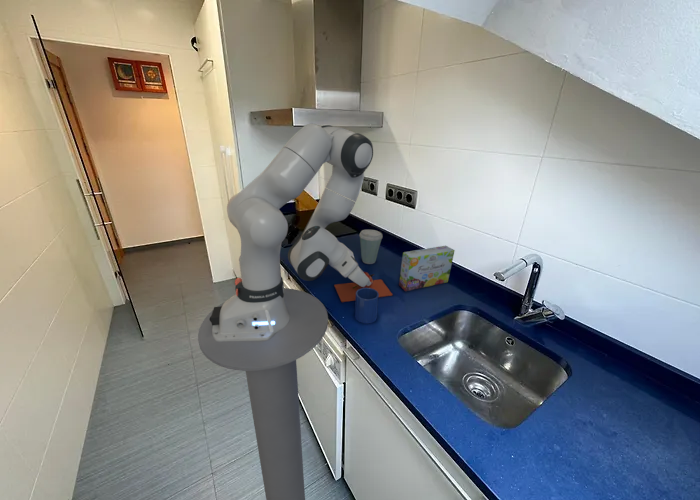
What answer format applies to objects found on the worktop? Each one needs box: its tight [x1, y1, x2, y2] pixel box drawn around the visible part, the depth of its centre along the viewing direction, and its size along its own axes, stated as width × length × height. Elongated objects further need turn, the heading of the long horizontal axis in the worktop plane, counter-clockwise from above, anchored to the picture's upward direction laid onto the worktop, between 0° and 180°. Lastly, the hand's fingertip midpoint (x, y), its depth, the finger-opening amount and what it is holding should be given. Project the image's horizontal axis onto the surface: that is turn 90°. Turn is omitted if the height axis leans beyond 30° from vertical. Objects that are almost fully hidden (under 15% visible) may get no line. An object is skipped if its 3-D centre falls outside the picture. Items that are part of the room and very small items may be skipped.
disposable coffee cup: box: [358, 229, 383, 265], centre depth 132 cm, size 11×11×15 cm
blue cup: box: [354, 288, 380, 324], centre depth 94 cm, size 7×7×9 cm
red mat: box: [333, 279, 393, 303], centre depth 111 cm, size 20×12×1 cm, turn 105°
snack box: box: [398, 245, 456, 292], centre depth 113 cm, size 21×6×15 cm, turn 114°
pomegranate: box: [353, 271, 375, 288], centre depth 109 cm, size 7×7×10 cm
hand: (365, 278), depth 109 cm, fingers closed on pomegranate, 7 cm apart
